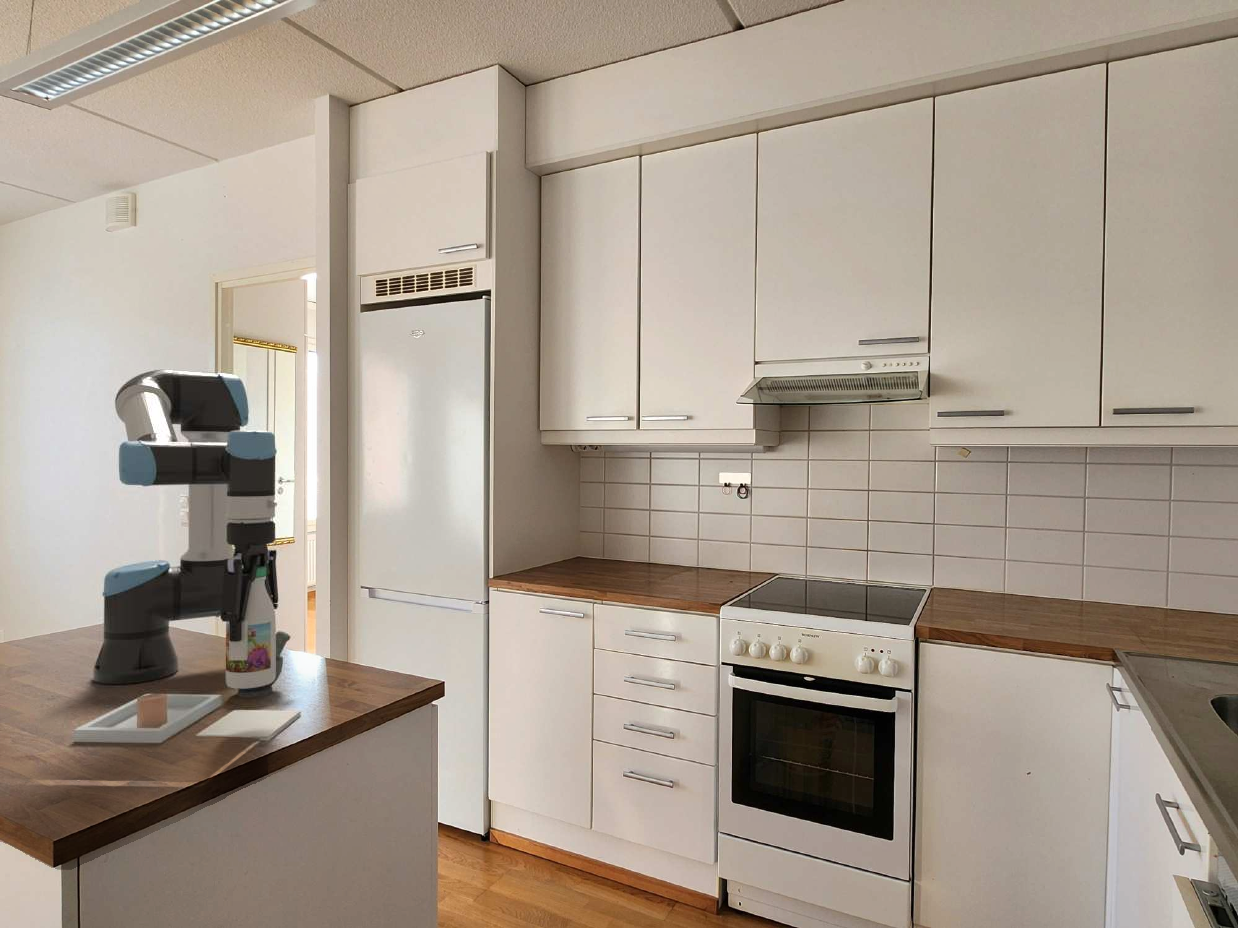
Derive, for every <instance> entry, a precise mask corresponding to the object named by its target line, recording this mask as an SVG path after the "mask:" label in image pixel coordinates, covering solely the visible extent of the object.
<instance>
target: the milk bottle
mask: <svg viewBox="0 0 1238 928" xmlns="http://www.w3.org/2000/svg"><path fill="white" fill-rule="evenodd" d="M242 575H249V574H242ZM265 579H266V567H264V566H260V567H258V568H257V573H256V578H255V580H254V581H253V582H252V583H251V588H250V593H249V598H248V603H247V608H246V613H245V619H244V620H248V659H247V660H229V622H226V624H225V625H226V626H225V684H226V686H227V687H228V688H231V689H236V690H238V689H246V688H255V687H260V686H264V685H267V684H270V683H272V682H273V681H274V680H275V677H276V633H277V629H276V628H277V627H276V626H277V625H276V624H277V623H276V612H275V610H276V609H274V606H273V603H272V601H271V599H270V597H269V595H268V593H267V591H266V587H265Z"/></svg>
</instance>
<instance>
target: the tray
mask: <svg viewBox="0 0 1238 928" xmlns="http://www.w3.org/2000/svg"><path fill="white" fill-rule="evenodd" d="M150 694H151V693H145V694H144V695H141V696H140V697H142V696H145V695H150ZM166 694H167V695H168V706H167V723H166V724H164V725H162V726H161V727H159V728H137V698H135V699H133V700H131V701H128V702H126V703H125V704H123V705H121V706H119V707H117V708H115V709H113V710H110V711H109V712H107V713H105V714H102V715H100V716H98V717H97V718H94V719H93V720H91V721H89V722H87V723H85V724H83V725H81V726H79V727H76V728H74V729H73V743H76V742H77V743H118V744H119V743H123V744H125V743H128V744H129V743H130V744H131V743H132V744H161V743H163V742H165V741H166V740H168V739H169V738H171V737H173V736H174V735H176V734H177V733H180V732H181V731H183V730H184V729H187V727H189V726H190V725H192V724H193V723H195V722H197V721H199V720H200V719H202V718H203V717H206V716H207V715H208V714H209V713H212V712H213V711H215V710H216V709H218V708H220V707H221V706H222V697H223V695H222V694H195V693H194V694H189V693H187V694H184V693H183V694H182V693H180V694H178V693H175V694H174V693H166Z"/></svg>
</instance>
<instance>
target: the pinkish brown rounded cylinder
mask: <svg viewBox="0 0 1238 928" xmlns="http://www.w3.org/2000/svg"><path fill="white" fill-rule="evenodd" d="M149 694H150V695H145V694H144V695H145V696H143V695H141V696H142V697H141V696H139V697H137V698H136V699H137V728H159V727H161V726H162V725H164V724H166V723H167V706H168V695H167V694H168V693H149Z"/></svg>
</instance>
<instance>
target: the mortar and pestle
mask: <svg viewBox="0 0 1238 928" xmlns="http://www.w3.org/2000/svg"><path fill="white" fill-rule="evenodd" d="M290 639H291V635H289V634H288V633H287V632H284V631H282V630H280V631H279V630H278V631H276V677H275V680H274V681H273V682H272V683H270V684H267V685H264V686H260V687H255V688H246V689H237V694H236V696H239V697H241V698H257V697H262V696H265V695H268V694H271V693H272V692H273V690H274V689H273V685H274V684H275V683H276V682H277V680H278V679H279V677H280V675H281V673H282V670H283V665H284V663H283V661H284V657H283V656H281V654H282V652H283V650H284V648H285V646H286V644H287V643H288V641H290Z"/></svg>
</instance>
